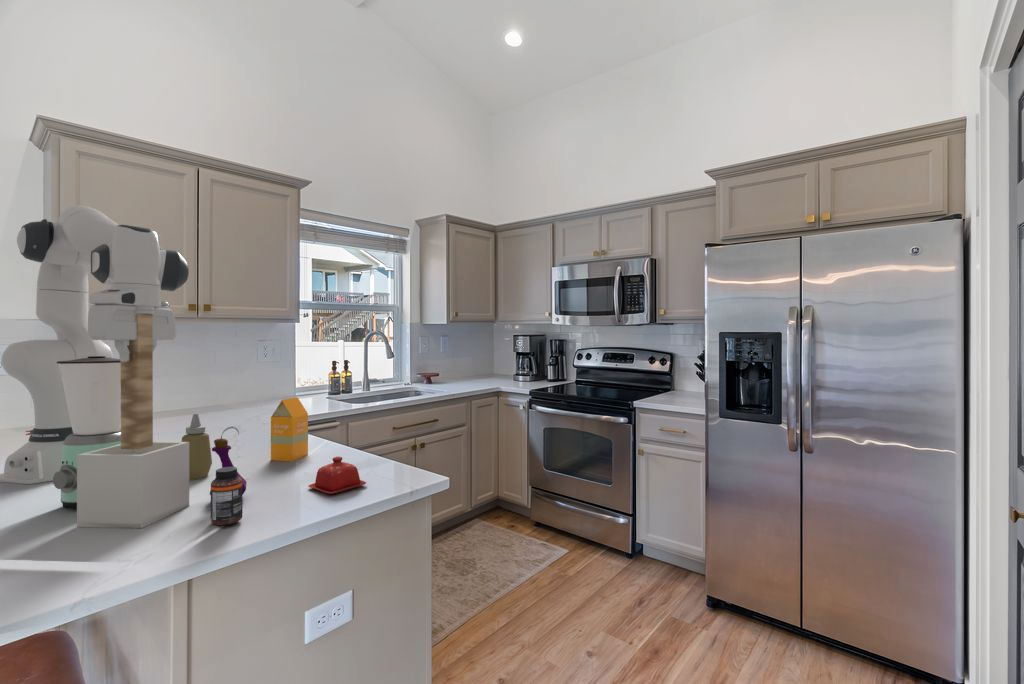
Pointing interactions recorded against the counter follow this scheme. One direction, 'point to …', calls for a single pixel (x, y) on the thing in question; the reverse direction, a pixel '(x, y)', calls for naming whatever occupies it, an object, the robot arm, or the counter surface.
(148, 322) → the long wooden block
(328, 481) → the butter dish
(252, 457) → the counter surface
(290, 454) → the orange juice
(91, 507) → the bin
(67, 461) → the blender
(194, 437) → the squeeze bottle
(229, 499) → the supplement bottle
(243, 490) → the potion bottle
